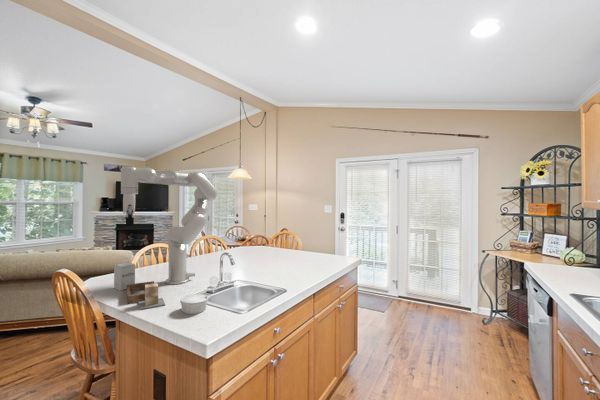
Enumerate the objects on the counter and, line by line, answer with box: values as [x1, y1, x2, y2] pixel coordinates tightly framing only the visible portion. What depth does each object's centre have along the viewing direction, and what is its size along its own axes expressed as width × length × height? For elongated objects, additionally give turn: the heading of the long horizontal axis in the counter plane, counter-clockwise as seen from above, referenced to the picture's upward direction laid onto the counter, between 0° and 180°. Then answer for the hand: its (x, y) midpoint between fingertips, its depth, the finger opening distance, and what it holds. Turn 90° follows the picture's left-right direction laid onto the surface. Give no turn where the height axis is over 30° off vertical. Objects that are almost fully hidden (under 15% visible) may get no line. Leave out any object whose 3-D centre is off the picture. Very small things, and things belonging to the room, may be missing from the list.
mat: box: [137, 297, 166, 311], centre depth 131 cm, size 10×10×1 cm
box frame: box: [126, 280, 155, 305], centre depth 143 cm, size 12×20×4 cm, turn 32°
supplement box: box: [113, 262, 136, 291], centre depth 154 cm, size 7×7×13 cm
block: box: [144, 282, 159, 306], centre depth 131 cm, size 5×5×8 cm
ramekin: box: [179, 293, 209, 315], centre depth 124 cm, size 11×11×5 cm
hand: (129, 225), depth 147 cm, fingers open, 9 cm apart
